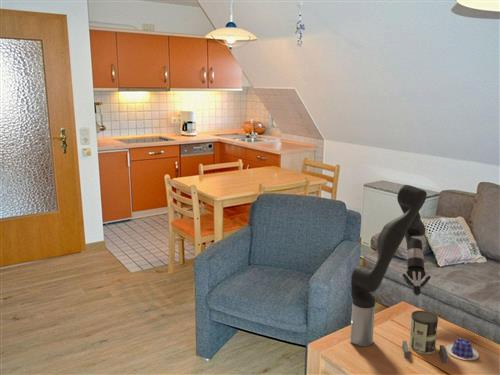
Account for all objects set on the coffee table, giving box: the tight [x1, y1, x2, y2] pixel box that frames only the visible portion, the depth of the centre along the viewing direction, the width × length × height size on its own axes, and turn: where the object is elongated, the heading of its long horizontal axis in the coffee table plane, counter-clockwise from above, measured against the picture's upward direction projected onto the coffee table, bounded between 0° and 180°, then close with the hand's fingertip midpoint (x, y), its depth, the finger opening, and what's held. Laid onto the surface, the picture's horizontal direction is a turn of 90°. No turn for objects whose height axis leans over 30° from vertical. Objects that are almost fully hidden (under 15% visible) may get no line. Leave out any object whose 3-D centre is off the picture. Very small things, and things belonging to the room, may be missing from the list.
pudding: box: [445, 337, 480, 361], centre depth 180 cm, size 12×12×5 cm
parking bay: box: [401, 340, 449, 364], centre depth 179 cm, size 16×8×3 cm, turn 78°
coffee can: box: [408, 310, 439, 355], centre depth 183 cm, size 10×10×14 cm
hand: (417, 295), depth 201 cm, fingers closed
